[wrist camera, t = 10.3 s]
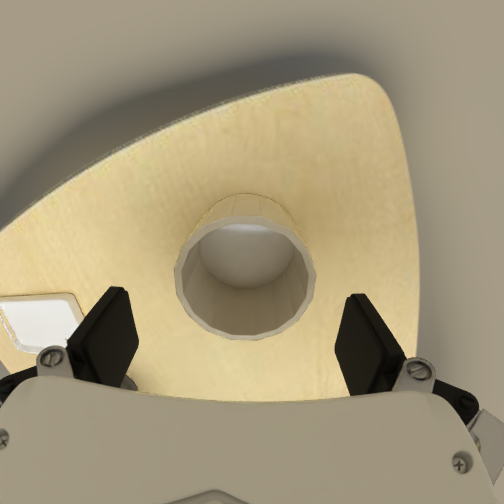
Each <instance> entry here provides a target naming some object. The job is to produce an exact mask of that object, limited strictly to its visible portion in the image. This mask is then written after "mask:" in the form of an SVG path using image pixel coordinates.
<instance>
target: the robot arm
mask: <svg viewBox="0 0 504 504" xmlns="http://www.w3.org/2000/svg"><path fill="white" fill-rule="evenodd" d="M138 345H139V339H138V335H137V331H136V327H135V322H134V318H133V314H132V309H131V304H130V299H129V294H128V292H127V291H125V289H124V288H123V287H114V286H111V287H110V288H109V289H108V290H107V291H106V292H105V293H104V295H103V296H102V297H101V298H100V299H99V301H98V302H97V303H96V304H95V306H94V307H93V308H92V309H91V311H90V312H89V313H88V314H87V316H86V317H85V318H84V319H83V321H82V322H81V323H80V325H79V326H78V327H77V328H76V330H75V331H74V332H73V334H72V335H71V336H70V338H69V339H68V340H67V346H66V348H64V347H62V346H58V345H54V346H49V347H47V348H45V349H43V350H42V351H41V352H40V353H39V354H38V356H37V359H36V364H37V366H34V367H31V368H28V369H25V370H23V371H20V372H17V373H14V374H11V375H9V376H6V377H4V378H3V379H1V380H0V504H499V503H498V500H497V497H496V494H495V491H494V487H493V485H494V484H495V482H496V480H497V478H498V476H499V474H500V472H501V470H502V468H503V466H504V423H503V422H501V421H500V420H498V419H497V418H496V417H494V416H493V415H492V414H490V413H489V412H487V411H486V410H484V409H482V411H480V410H479V403H478V401H477V399H476V397H475V396H473V395H472V394H471V393H469V392H467V391H465V390H462V389H459V388H457V387H454V386H452V385H449V384H447V383H445V382H442V381H440V380H437V379H435V377H436V371H435V368H434V367H433V365H432V364H431V363H430V362H428V361H427V360H425V359H422V358H418V357H412V358H409V359H407V358H406V356H405V355H404V352H403V350H402V348H401V347H400V345H399V344H398V342H397V341H396V339H395V338H394V336H393V334H392V333H391V331H390V330H389V328H388V327H387V325H386V324H385V322H384V321H383V319H382V318H381V316H380V315H379V313H378V312H377V310H376V309H375V307H374V306H373V305H372V303H371V302H370V300H369V299H368V297H367V296H366V295H365V294H363V293H362V294H351V296H350V297H347V299H346V302H345V307H344V311H343V315H342V319H341V324H340V328H339V331H338V335H337V339H336V343H335V354H336V357H337V360H338V362H339V365H340V368H341V371H342V373H343V376H344V379H345V382H346V385H347V388H348V390H349V393H350V397H340V398H330V399H318V400H304V401H279V402H241V401H217V400H202V399H191V398H181V397H172V396H164V395H157V394H150V393H143V392H137V391H132V390H126V389H121V388H120V386H121V383H122V381H123V379H124V377H125V374H126V372H127V370H128V368H129V365H130V363H131V361H132V359H133V357H134V355H135V352H136V350H137V348H138Z"/></svg>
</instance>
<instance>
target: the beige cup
mask: <svg viewBox="0 0 504 504" xmlns="http://www.w3.org/2000/svg"><path fill="white" fill-rule="evenodd" d="M174 277H175V287H176V294H177V297H178V298H179V300H180V302H181V304H182V306H183V307H184V309H185V311H186V312H187V314H188V315H189V317H190V318H192V319H193V320H194V321H195V322H197V323H198V324H199V325H200V326H202V327H203V328H204V329H205V330H207V331H208V332H211V333H213V334H216V335H219V336H222V337H225V338H227V339H231V340H253V341H255V340H260V339H263V338H267V337H270V336H273V335H277V334H279V333H281V332H283V331H284V330H285V329H287V328H288V327H290V326H291V325H292V324H294V323H295V322H297V321H298V320H299V319H300V318H301V316H302V315H303V313H304V312H305V310H306V309H307V307H308V306H309V304H310V302H311V301H312V299H313V294H314V288H315V281H316V271H315V268H314V265H313V261H312V258H311V255H310V252H309V249H308V247H307V245H306V243H305V242H304V240H303V238H302V236H301V234H300V232H299V230H298V228H297V226H296V224H295V222H294V221H293V219H292V218H291V217H290V216H289V214H288V213H287V212H286V211H285V210H284V209H283V208H282V207H281V206H280V205H279V204H277V203H276V202H274V201H273V200H271V199H269V198H266V197H263V196H260V195H256V194H238V195H233V196H230V197H227V198H225V199H222V200H220V201H219V202H217V203H216V204H214V205H213V206H212V207H211V208H210V209H209V210H208V211H207V212H206V213H205V214H204V215H203V216H202V218H201V219H200V220H199V222H198V223H197V225H196V226H195V228H194V229H193V231H192V233H191V234H190V236H189V237H188V239H187V240H186V242H185V243H184V245H183V246H182V249H181V251H180V254H179V257H178V260H177V263H176V265H175V268H174Z"/></svg>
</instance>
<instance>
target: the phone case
mask: <svg viewBox="0 0 504 504" xmlns="http://www.w3.org/2000/svg"><path fill="white" fill-rule="evenodd" d="M0 309H2V311H3V313H4V315H5V317H6V319H7V321H8V323H9V325H10V327H11V329H12V330H13V332H14V334H15V336H16V338H17V339H16V340H14V339H13V337H12V335H11V333H10V332H9V330H8V328H7V326H6V324H5V322H4V320H3V318H2V316H1V314H0V319H1V321H2V323H3V325H4V327H5V329H6V330H7V332H8V334H9V336H10V338H11V340H12V341H13V343H14V345H15V346H16V348H17V349H18V350H20V351H22V352H28V353H34V354H39V353H40V352H41V351H42V350H43V349H45V348H47V347H49V346H54V345H58V346H62V347H64V348H66V346H67V339H66V338H68V339H69V338H70V336H71V335H72V334H73V332H74V331H75V330H76V328H77V327H78V326H79V325H80V323H81V322H82V321H83V319H84V317H83V315H82V313H81V310H80V308H79V306H78V304H77V301H76V299H75V297H74V296H73V295H72V294H69V293H60V294H46V295H31V296H14V297H0Z"/></svg>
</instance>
